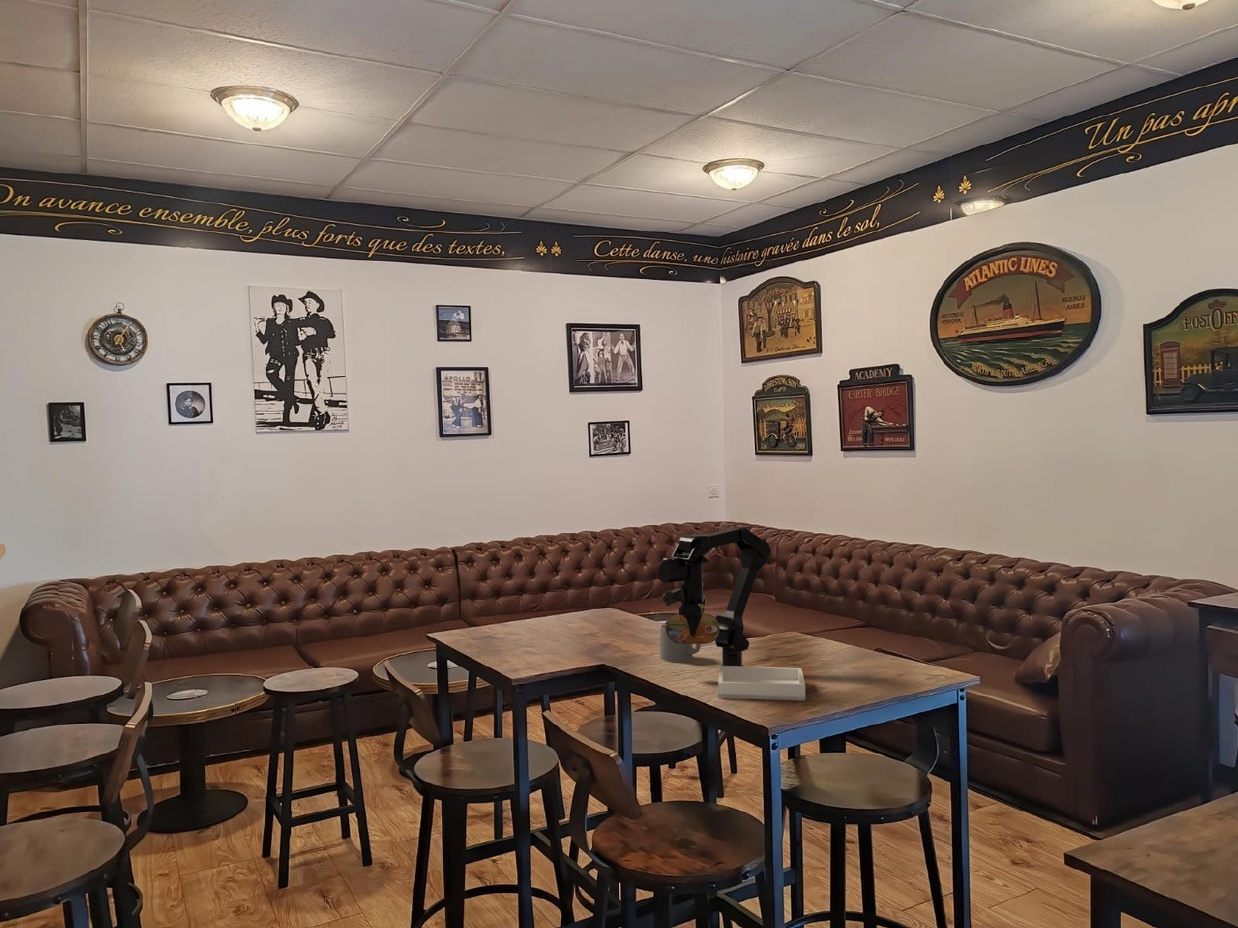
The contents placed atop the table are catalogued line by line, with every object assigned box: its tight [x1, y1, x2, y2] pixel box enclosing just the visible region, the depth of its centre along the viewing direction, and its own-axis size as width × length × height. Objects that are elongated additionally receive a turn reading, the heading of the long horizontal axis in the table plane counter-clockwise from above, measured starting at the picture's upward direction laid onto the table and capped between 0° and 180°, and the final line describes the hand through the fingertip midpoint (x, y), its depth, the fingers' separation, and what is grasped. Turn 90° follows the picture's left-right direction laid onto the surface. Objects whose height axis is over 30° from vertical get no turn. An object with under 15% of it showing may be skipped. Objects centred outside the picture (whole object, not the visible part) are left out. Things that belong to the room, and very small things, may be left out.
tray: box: [717, 665, 806, 701], centre depth 240 cm, size 18×22×4 cm
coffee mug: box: [659, 623, 702, 663], centre depth 276 cm, size 13×10×10 cm
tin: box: [665, 612, 720, 645], centre depth 254 cm, size 15×3×8 cm, turn 80°
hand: (693, 635), depth 254 cm, fingers closed on tin, 2 cm apart
